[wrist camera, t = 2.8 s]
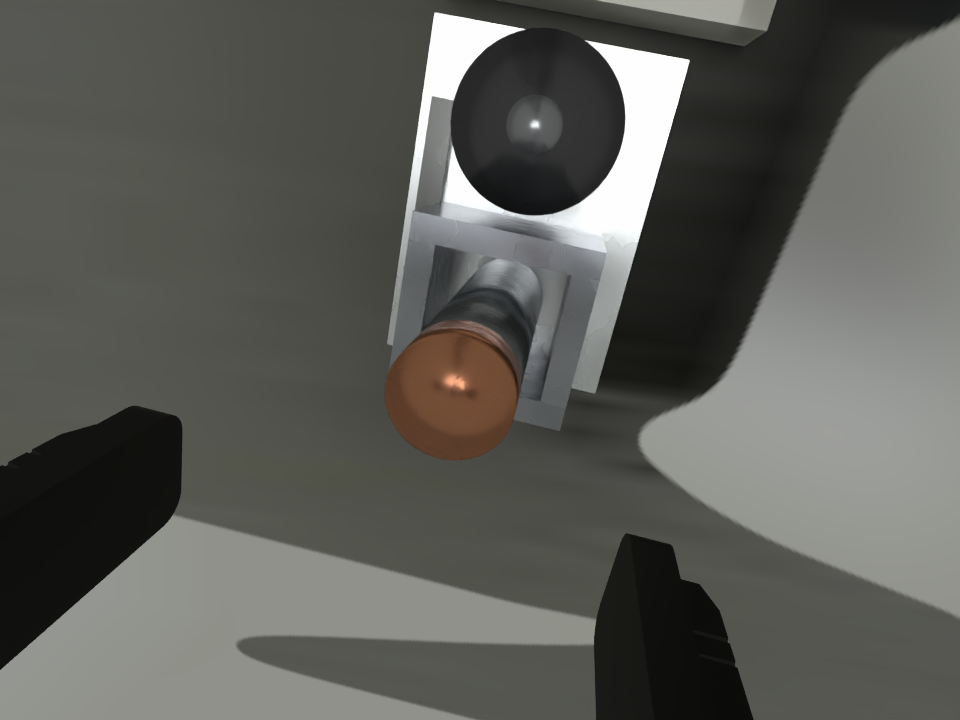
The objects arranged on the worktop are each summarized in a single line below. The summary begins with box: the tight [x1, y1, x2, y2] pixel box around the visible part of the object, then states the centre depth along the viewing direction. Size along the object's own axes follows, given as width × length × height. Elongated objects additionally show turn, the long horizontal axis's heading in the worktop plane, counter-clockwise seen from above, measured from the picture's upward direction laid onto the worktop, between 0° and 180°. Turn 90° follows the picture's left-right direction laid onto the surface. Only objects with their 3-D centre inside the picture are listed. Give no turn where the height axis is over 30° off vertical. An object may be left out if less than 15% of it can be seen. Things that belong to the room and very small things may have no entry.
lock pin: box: [385, 259, 543, 460], centre depth 21 cm, size 3×3×12 cm
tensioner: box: [387, 13, 690, 431], centre depth 24 cm, size 14×10×6 cm
